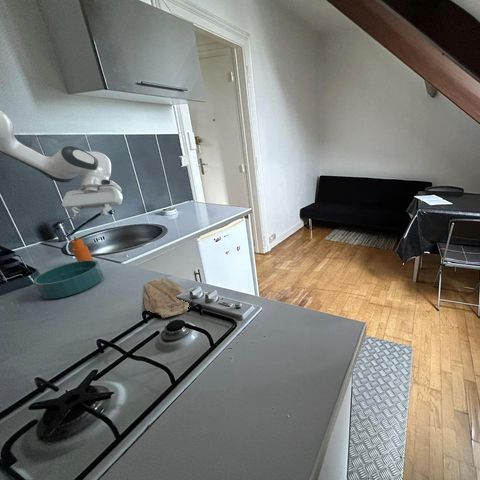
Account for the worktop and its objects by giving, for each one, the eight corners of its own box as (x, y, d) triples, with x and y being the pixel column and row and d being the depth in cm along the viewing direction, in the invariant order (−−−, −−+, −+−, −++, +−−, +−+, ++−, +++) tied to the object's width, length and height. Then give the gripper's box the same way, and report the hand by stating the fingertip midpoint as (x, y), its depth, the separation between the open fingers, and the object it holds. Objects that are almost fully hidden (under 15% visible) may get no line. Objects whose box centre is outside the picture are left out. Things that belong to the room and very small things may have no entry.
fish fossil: (131, 289, 80) (130, 286, 79) (167, 277, 87) (166, 274, 86) (162, 323, 63) (160, 319, 63) (203, 305, 70) (202, 301, 70)
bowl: (52, 305, 74) (43, 289, 72) (34, 292, 82) (26, 277, 79) (112, 280, 86) (106, 265, 84) (92, 270, 93) (86, 257, 91)
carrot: (82, 268, 96) (69, 239, 92) (78, 265, 98) (64, 237, 94) (96, 263, 99) (84, 235, 95) (91, 261, 101) (79, 233, 97)
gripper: (60, 185, 104) (54, 215, 99) (117, 180, 108) (113, 209, 103) (73, 194, 110) (67, 223, 105) (126, 189, 114) (123, 217, 108)
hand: (90, 216), depth 104 cm, fingers open, 8 cm apart
